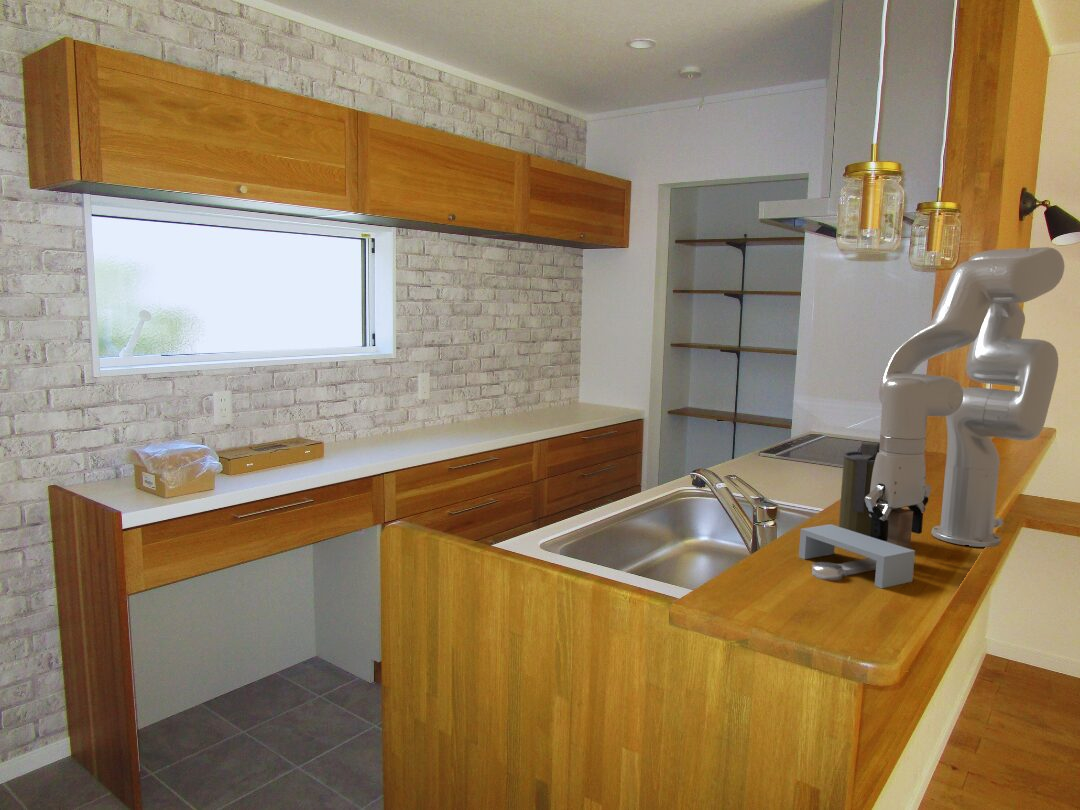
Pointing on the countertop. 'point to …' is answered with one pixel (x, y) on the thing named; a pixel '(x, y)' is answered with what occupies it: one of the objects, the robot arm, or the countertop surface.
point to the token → (827, 571)
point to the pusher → (896, 534)
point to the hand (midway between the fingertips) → (896, 535)
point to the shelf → (860, 552)
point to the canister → (857, 488)
